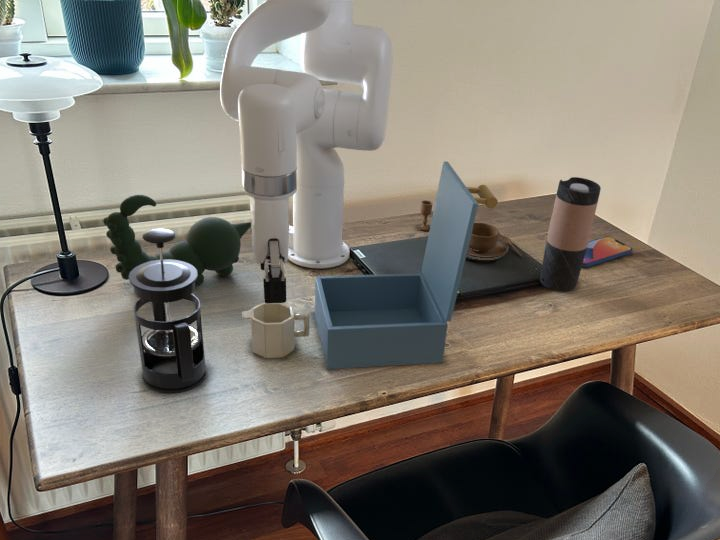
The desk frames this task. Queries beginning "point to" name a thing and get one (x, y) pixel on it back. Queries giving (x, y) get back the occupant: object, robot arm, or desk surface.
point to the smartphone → (604, 250)
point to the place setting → (477, 238)
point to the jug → (274, 329)
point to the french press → (168, 337)
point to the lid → (451, 236)
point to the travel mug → (569, 233)
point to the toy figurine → (201, 249)
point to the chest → (378, 320)
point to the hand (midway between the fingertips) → (273, 285)
